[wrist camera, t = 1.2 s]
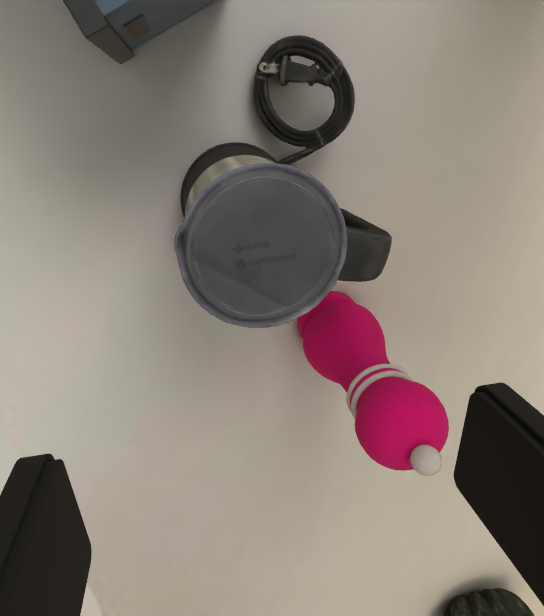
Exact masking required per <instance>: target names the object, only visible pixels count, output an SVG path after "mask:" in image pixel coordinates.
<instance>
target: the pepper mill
mask: <svg viewBox="0 0 544 616" xmlns="http://www.w3.org/2000/svg"><path fill="white" fill-rule="evenodd" d="M298 330H299V333H300V335H301V337H302V339H303V349H304V353H305V356H306V358H307V360H308V361H309V363H310V364H311V365H312V367H313V368H314V369H315V370H316V371H317V372H318V373H320V374H321V375H322V376H324V377H325V378H327V379H329V380H331V381H334V382H336V383H339V384H340V385H341V386H342V387H343V388H344V389H345V391H346V392H347V399H346V401H347V405H348V408H349V410H350V411H351V413H352V415H353V417H354V419H355V431H356V434H357V437H358V440H359V442H360V444H361V446H362V447H363V449H364V450H365V451H366V453H367V454H368V455H369V456H370V457H371V458H372V459H373V460H375V461H376V462H377V463H379V464H381V465H382V466H385V467H387V468H390V469H394V470H412V469H415V470H416V472H418V473H419V474H421V475H424V476H432V475H434V474H436V473H437V472H438V471H439V470H440V468H441V465H442V459H441V456H440V454H439V452H440V451H441V450H442V448H443V446H444V445H445V442H446V439H447V437H448V430H449V426H448V418H447V415H446V411H445V408H444V407H443V405H442V404H441V402H440V400H439V399H438V397H437V396H436V395H435V394H434V393H433V392H432V391H431V390H430V389H428V388H427V387H425V386H424V385H422V384H420V383H417V382H414V381H413V380H412V379H411V378H410V377H409V376H408V374H407V373H406V372H405V371H404V370H403V369H402V368H400V367H399V366H396V365H393V364H390V362H389V361H388V359H387V356H386V350H385V339H384V335H383V332H382V329H381V327H380V325H379V323H378V321H377V320H376V318H375V317H374V316H373V314H372V313H371V312H370V311H368V310H367V309H366V308H364V307H362V306H360V305H358V304H355V303H354V302H353V300H352V299H351V298H349V297H348V296H347V295H345V294H343V293H339V292H329V293H328V295H326V296H325V297H324V299H323V300H322V301H321V302H320V303H319V304H318V305H317V306H316V307H314V308H313V309H312V310H310V311H309V312H308V313H306V314H304V315H302V316H300V317H299V318H298Z"/></svg>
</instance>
